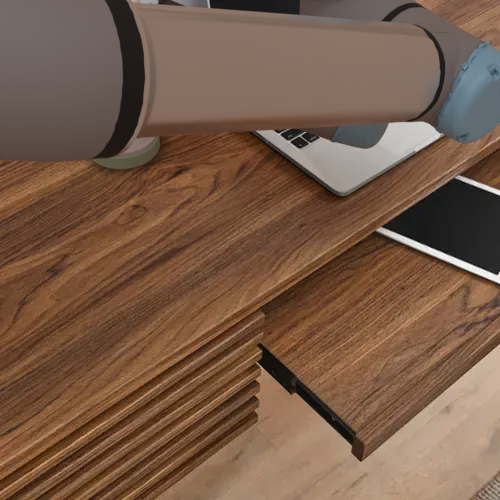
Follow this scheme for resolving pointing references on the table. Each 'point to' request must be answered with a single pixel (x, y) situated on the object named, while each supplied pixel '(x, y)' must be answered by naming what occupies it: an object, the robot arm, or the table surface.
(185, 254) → the table surface
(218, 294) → the table surface
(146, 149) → the beige and green disc
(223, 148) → the table surface
